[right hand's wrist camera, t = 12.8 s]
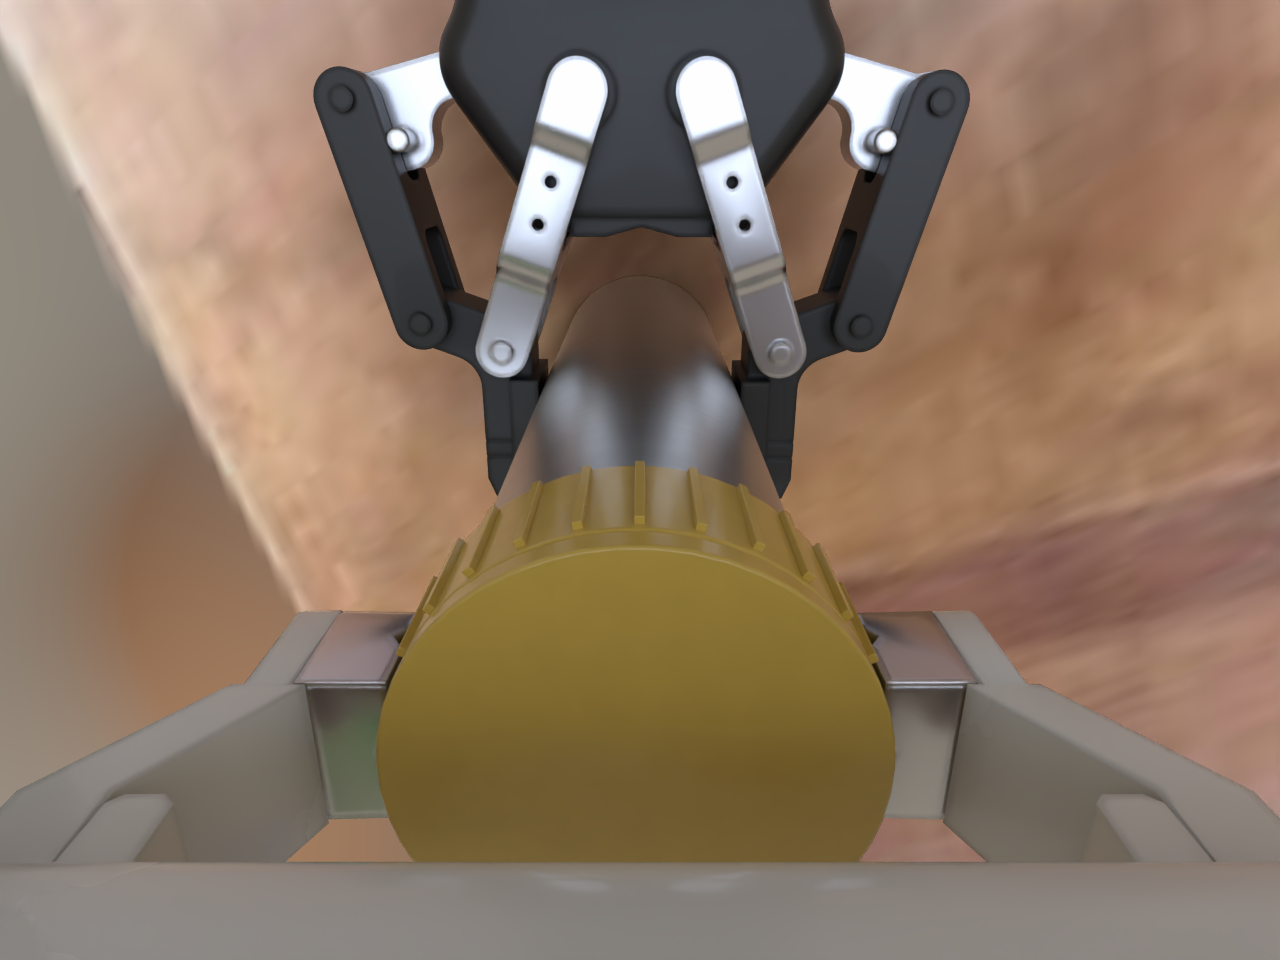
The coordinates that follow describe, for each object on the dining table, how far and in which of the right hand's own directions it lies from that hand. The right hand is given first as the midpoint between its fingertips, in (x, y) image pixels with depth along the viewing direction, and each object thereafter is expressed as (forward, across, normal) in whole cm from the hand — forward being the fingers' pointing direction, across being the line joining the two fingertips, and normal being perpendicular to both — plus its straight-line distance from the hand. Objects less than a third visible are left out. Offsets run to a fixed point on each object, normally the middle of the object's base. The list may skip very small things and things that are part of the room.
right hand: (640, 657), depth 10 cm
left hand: (+11, 0, -3) cm, 11 cm away
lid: (-2, 0, 0) cm, 2 cm away
